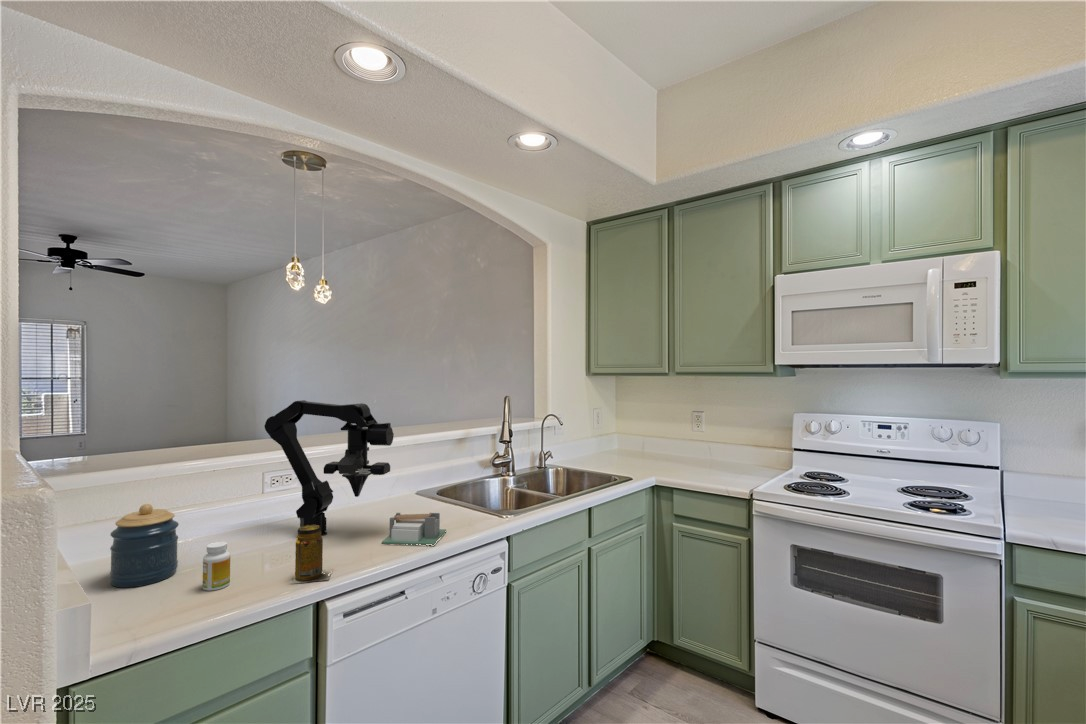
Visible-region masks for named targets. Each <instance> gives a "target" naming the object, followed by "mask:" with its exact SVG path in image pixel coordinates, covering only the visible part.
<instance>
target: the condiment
mask: <svg viewBox="0 0 1086 724" xmlns="http://www.w3.org/2000/svg"><path fill="white" fill-rule="evenodd" d="M323 539H324V537H323V535H321V526H318V525H307V526H303V527H300V526H299V528H298V529H297V539H296V541H295V561H294V562H295V565H294V567H295V568H294V577H293V578H292V579H291V581H290V583H289V584H290V585H291V584H292V585H293V584H305V583H311V582H320V581H321V582H322V581H328V580H330V578H331V576H330V577H329V576H328V574H329V573H331V571H334V568H329V569H327V568H325V569H323V560H324V559H323V549H324V548H323V547H324V543H323V542H324V540H323ZM322 572H323V573H322ZM324 573H325V574H324Z"/></svg>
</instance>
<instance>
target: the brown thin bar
mask: <svg viewBox="0 0 1086 724" xmlns="http://www.w3.org/2000/svg"><path fill="white" fill-rule="evenodd" d="M393 517H394V521H396V520H422V519H425V517H432V514H429V513H420V514H419V513H414V514H413V513H412V514H411V513H408V514H400V515H398V514H396V513H395V515H393Z"/></svg>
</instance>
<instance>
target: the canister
mask: <svg viewBox="0 0 1086 724" xmlns="http://www.w3.org/2000/svg"><path fill="white" fill-rule="evenodd" d="M174 517H175V513H173V512H171V511H169V510H167V509H164V508H162V509H161V508H160V509H159V508H153V505H152V504H150V503H145V504H142V505H141V506H140V507H139V509H138V511H134V512H131V513H127V514H125V515H124V516H123V517H121V518H120V519H118V520H117V521H115V526H116V528H115V529H114V530H112V531H111V532H110V536H111V538H113V540H112V541H113V542H112V545H111V546H110V572H109V580H110V585H112V586H113V587H116V588H133V587H135V588H136V587H143V586H149V585H151V584H154V583H158V582H161V581H164V580H166V579H169V578H171V577H172V576H174V574H176V573H177V571H178V570H177V569H178V565H179V564H178V563H179V561H178V540H179V535H178V534H177V528H178V527H179V524H180V523H179V522H178V521H176V520H175V519H173V518H174Z"/></svg>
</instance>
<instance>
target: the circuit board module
mask: <svg viewBox="0 0 1086 724" xmlns="http://www.w3.org/2000/svg"><path fill="white" fill-rule="evenodd" d="M396 514H398V515H401V512H396V513H395V515H396ZM428 514H432V517H425V519H422V520H394V516H391V517H390V518H389V535H388V536H387V537H385V538H384V539H383V540H382V541H381V544H405V545H406V544H408V545H411V544H412V545H416V544H418V545H419V544H421V545H426V544H432V545H434V544H435V543H436V541H437V540H438V539H439V538H440V537H441V536H442V535H443V534H444V533H445V531H446V532H447V529H445V528H444V529H443V528H441V527H440V524H441V523H440V522H441V521H440V520H441V519H440V515H441V513H440V512H429V513H428ZM445 534H446V533H445ZM445 534H444V535H445ZM444 535H443V536H444ZM443 536H442V537H443ZM436 544H437V543H436ZM405 545H404V546H405Z"/></svg>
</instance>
